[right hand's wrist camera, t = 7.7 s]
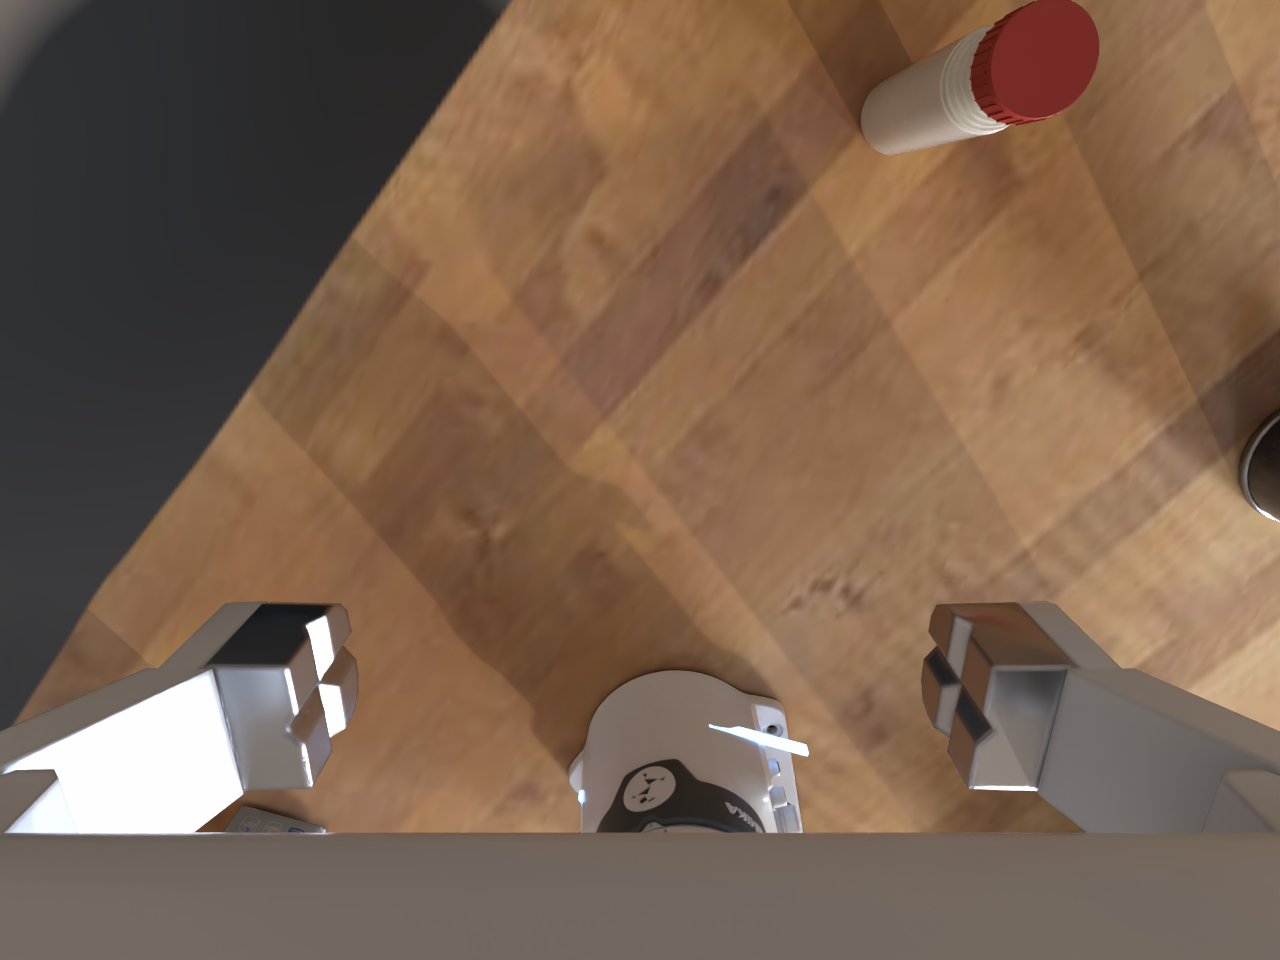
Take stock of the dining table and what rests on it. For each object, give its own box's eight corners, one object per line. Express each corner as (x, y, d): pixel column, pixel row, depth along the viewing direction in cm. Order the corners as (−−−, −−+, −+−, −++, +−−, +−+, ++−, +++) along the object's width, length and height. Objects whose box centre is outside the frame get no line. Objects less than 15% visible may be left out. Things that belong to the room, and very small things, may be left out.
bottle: (865, 74, 44) (994, -6, 28) (938, 77, 44) (1108, -2, 28) (856, 154, 45) (973, 122, 29) (926, 156, 45) (1082, 125, 29)
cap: (978, 7, 29) (1000, -6, 27) (1083, 11, 29) (1113, -3, 27) (959, 124, 31) (979, 118, 29) (1060, 127, 31) (1086, 121, 29)
